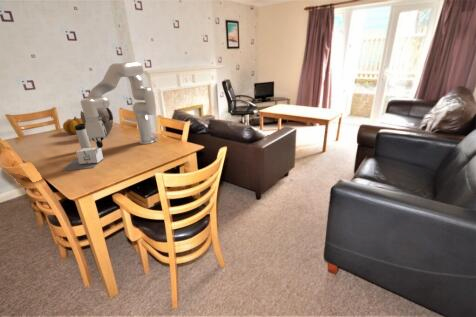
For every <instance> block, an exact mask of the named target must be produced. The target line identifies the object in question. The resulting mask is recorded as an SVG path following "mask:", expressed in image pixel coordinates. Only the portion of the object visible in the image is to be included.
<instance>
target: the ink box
mask: <svg viewBox="0 0 476 317" xmlns="http://www.w3.org/2000/svg"><path fill="white" fill-rule="evenodd" d="M75 153H76V156H77V159H78V161H79V164H86V163H97V164H99V162H101V161H102V160H104V156H103V150H102V148H98V147H97V146H96V147H91V148H83V149H81V148H80V149H78V150H77V151H75Z"/></svg>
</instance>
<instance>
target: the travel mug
mask: <svg viewBox="0 0 476 317" xmlns="http://www.w3.org/2000/svg"><path fill="white" fill-rule="evenodd" d="M75 129H76V133H77V134H76V136H77V139H78V142H79V145H80V150H81V149H83V148H92V146H91V143H90V140H89V139H88V136H87V132H86V128H85V124H79V125H76V126H75Z"/></svg>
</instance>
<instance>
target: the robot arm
mask: <svg viewBox="0 0 476 317" xmlns="http://www.w3.org/2000/svg"><path fill="white" fill-rule="evenodd" d="M143 73H144V66H143V65H142V64H141V63H140V62H136V61H135V62H130V61H129V62H120V63H118V62H117V63H112V64H110V65H109V67H108V69H107V70H106V72H105V74H104V76H103V79H102V80H101V81H100V82H98V83H97V84H96V85H95V86H94V87H93V88H92V89H91V90H90V92H89V93H88V95H87V97H86V98H83V99H81V100H80V105H81V109H82V112H84V116H85V119H86V123H85V126H86V132H87V136H88V139H89V141H93V142H95V144H96V147H98V148H101V149H102V148H103V147H104V143H103V140H104V139H107V138H108V134H107V133H106V129H105V127H104V124H103V122H102V120H100V119H102V117H100V116H99V114H98V109H106V108H109V107H110V103H111V101H110V100H109V99H108V98H107V97H105V96H104V95H105V94H107V93H109V92H112V91H113V90H115V89H116V88H117V86H118V85H119V82H120V80H121V78H127V79H128V81H129V83H130V88H131V94H132V97H133V99H134V100H137V101H138V102H135V103H134V104H133V106H132V111H133V114H134V116H135V119H136V123H137V127H138V133H139V134H138V135H139V137H140V139H139V141H138V143H139V144H142V145H149V144H153V143H154V142H156V140H159V139H160V137H159V136H157V135H154V134H153V130H152V124H151V119H150V117H149V116H154V115H155V113H156V111H157V107H156V105H157V104H156V99H155V98H156V97H155V94H154V93H155V92H154V90H152V88H150V87H146V86H144V83H143V79H142V77H141V76H142V74H143ZM106 134H107V135H106Z"/></svg>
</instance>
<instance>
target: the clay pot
mask: <svg viewBox="0 0 476 317" xmlns="http://www.w3.org/2000/svg"><path fill="white" fill-rule="evenodd" d="M98 114H99V116H100V117H102V119H100V120H102V122H103V124H104V127H105V129H106V133H107V134H106V136H108V134H110V133H111V131H112V129H113V123H114V114H113V112H112V110H111V109H110V108H109V107H108V108H106V109H98ZM80 118H81V119H82V122H83V124H85V123H86V119H85V116H84V112H83V110H80Z"/></svg>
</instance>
